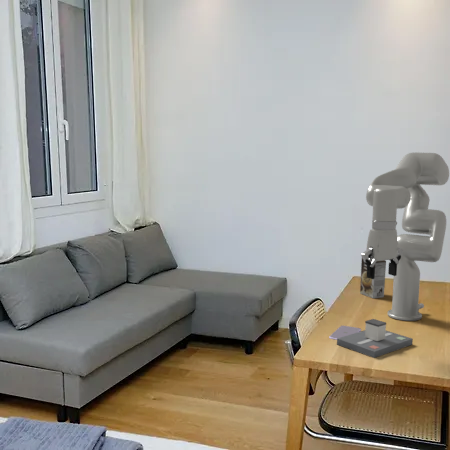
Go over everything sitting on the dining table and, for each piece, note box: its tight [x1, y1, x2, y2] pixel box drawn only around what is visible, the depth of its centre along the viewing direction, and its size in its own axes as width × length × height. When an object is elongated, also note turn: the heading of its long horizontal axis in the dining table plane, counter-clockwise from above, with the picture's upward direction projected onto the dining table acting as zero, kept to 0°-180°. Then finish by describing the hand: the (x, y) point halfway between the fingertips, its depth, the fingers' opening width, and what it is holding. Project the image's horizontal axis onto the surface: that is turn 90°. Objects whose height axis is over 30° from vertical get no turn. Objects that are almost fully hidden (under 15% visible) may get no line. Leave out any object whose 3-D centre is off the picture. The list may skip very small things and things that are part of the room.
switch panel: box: [336, 329, 414, 359], centre depth 195 cm, size 20×15×2 cm
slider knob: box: [364, 318, 387, 341], centre depth 194 cm, size 4×5×6 cm
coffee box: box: [359, 258, 387, 299], centre depth 256 cm, size 9×6×16 cm
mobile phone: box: [328, 325, 362, 341], centre depth 205 cm, size 8×1×15 cm
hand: (381, 276), depth 197 cm, fingers open, 9 cm apart
